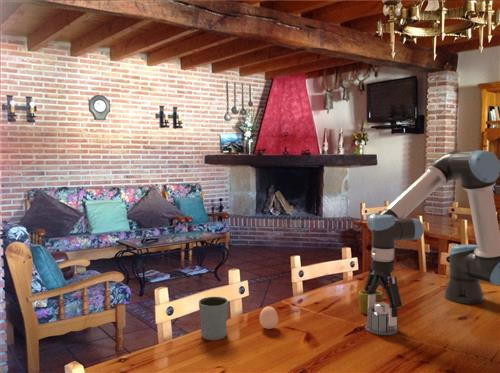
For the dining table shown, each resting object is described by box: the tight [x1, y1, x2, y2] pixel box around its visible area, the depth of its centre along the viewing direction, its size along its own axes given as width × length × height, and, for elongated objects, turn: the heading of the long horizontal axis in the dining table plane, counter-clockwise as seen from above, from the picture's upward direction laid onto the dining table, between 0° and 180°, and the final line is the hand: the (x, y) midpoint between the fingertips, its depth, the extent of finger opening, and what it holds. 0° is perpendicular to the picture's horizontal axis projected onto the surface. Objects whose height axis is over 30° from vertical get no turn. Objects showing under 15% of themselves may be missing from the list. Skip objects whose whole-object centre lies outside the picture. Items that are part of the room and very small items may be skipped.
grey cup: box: [198, 296, 229, 341], centre depth 155 cm, size 10×10×12 cm
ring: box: [366, 306, 398, 333], centre depth 159 cm, size 10×10×6 cm
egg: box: [259, 306, 279, 330], centre depth 160 cm, size 7×7×8 cm
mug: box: [357, 289, 384, 315], centre depth 177 cm, size 12×10×10 cm
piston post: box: [365, 302, 399, 337], centre depth 159 cm, size 11×11×9 cm
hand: (381, 318), depth 159 cm, fingers open, 13 cm apart
